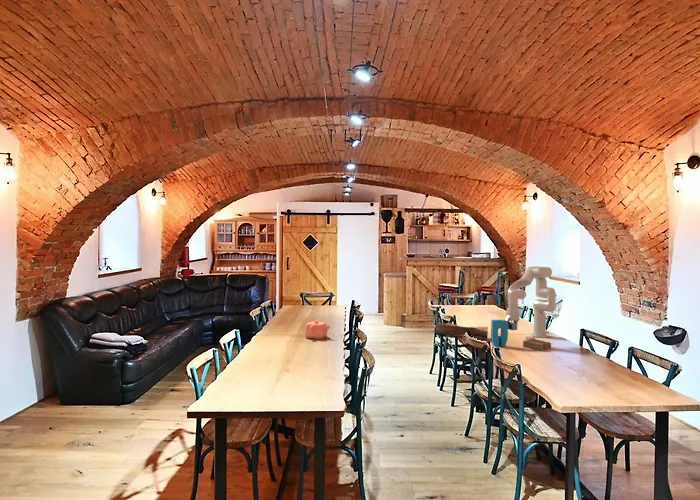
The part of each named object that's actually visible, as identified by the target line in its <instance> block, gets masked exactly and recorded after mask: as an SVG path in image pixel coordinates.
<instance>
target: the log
mask: <svg viewBox="0 0 700 500" xmlns="http://www.w3.org/2000/svg"><path fill="white" fill-rule="evenodd" d="M435 324H436V327H435V328H436V329H435V335H436V336H439V337H441V338H451V339H464V338H463V335H464V334H465V333H466V332H467V331H470V332H471V335H472V337H474V338H477V339H479V340H484V339H488V334H489V330H488V329H489V328H488V326H475V327H474V326H460V325H457V324H454V323H449V322H446V323H439V322H435ZM464 340H465V339H464Z"/></svg>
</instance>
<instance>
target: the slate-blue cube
mask: <svg viewBox="0 0 700 500" xmlns="http://www.w3.org/2000/svg"><path fill="white" fill-rule="evenodd" d="M511 324H512V329H508V331H509V330H510V331H517V330H518V323H514V321H512V323H511Z"/></svg>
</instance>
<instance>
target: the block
mask: <svg viewBox="0 0 700 500" xmlns="http://www.w3.org/2000/svg"><path fill="white" fill-rule="evenodd" d="M490 322H491V323H490V339H491V344H492V346H493V347H495V348H496V347H498V348H499V347H501V348H505V347H506V346H507V342H508V339H509V338H508V337H509V336H508V335H509V329H508V320H506V319H491V320H490ZM499 329H500V334H499Z"/></svg>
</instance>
